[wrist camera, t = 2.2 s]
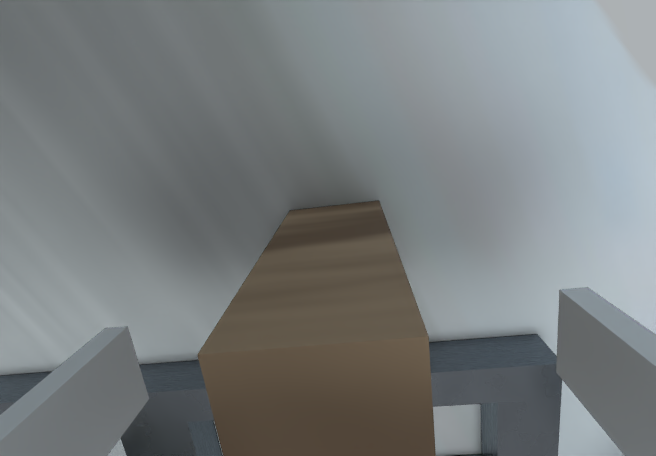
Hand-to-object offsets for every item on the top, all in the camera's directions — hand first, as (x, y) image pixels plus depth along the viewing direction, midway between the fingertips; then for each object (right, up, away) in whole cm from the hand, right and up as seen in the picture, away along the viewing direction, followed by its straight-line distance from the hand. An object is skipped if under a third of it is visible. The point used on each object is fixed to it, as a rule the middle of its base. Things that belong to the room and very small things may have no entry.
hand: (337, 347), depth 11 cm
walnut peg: (0, +3, +8) cm, 8 cm away
